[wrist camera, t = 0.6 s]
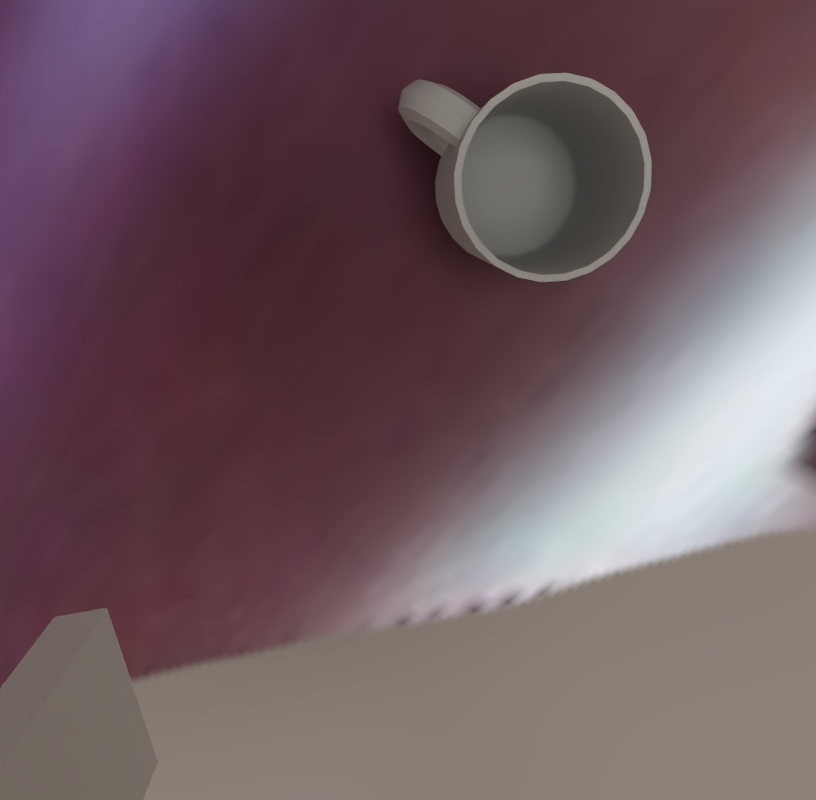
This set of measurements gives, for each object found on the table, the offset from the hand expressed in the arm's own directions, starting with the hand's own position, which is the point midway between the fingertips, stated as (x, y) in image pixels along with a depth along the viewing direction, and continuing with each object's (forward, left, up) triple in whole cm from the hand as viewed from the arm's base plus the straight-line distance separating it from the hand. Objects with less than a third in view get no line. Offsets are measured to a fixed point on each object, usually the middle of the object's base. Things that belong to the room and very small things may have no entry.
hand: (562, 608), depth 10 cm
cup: (-6, +5, -26) cm, 27 cm away
